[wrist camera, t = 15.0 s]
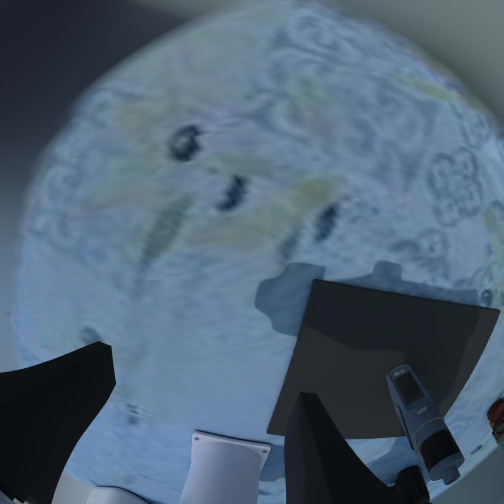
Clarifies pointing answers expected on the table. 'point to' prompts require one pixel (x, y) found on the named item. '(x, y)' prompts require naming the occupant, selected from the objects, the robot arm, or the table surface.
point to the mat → (379, 355)
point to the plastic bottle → (113, 496)
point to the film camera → (412, 486)
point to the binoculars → (497, 421)
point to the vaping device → (424, 425)
